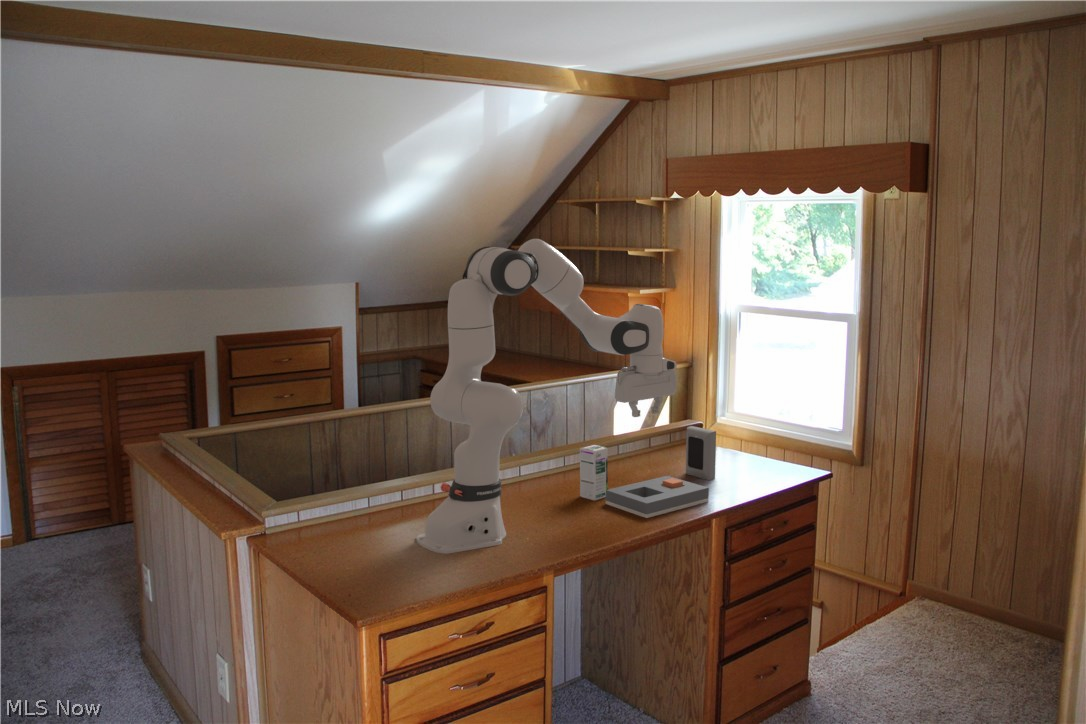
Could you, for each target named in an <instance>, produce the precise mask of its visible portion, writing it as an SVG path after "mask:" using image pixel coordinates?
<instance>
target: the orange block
mask: <svg viewBox="0 0 1086 724" xmlns="http://www.w3.org/2000/svg"><path fill="white" fill-rule="evenodd" d="M673 478H674V477H673ZM673 478H672V479H668V480H663V486H666V487H669V488H677V487H682V486H683V481H680V480H681V479H680V480H677V479H678V478H677V479H673Z"/></svg>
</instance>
